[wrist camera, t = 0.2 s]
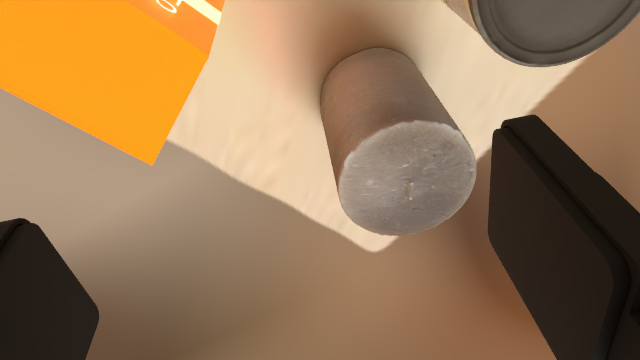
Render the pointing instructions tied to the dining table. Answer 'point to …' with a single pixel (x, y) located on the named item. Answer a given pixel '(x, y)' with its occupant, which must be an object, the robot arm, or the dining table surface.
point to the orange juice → (108, 63)
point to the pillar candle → (393, 145)
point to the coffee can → (545, 26)
